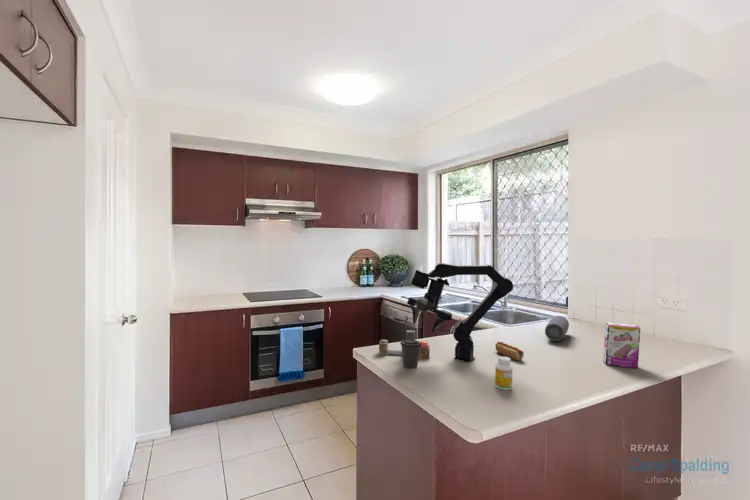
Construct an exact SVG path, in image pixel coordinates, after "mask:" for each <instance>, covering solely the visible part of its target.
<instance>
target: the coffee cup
mask: <svg viewBox="0 0 750 500" xmlns="http://www.w3.org/2000/svg"><path fill="white" fill-rule="evenodd" d="M399 344H400V345H401V350H402V355H401V356H402V367H403V368H405V369H407V370H415V369H417V368H418V364H419V358H418V357H419V350H420V346H421V341H419V340H416V339H415V340H412V339H408V340H406V339H403V340H401V341H400V343H399Z"/></svg>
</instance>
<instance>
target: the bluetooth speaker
mask: <svg viewBox="0 0 750 500" xmlns="http://www.w3.org/2000/svg"><path fill="white" fill-rule="evenodd" d="M569 323H570V322H569V321H568V319H567V318H566V317H565V316H562V315H556V316H554V317H552V318H551V319H550V320H549V321H548V322H547V324H546V326H545V328H544V334H545V336H546V338H548V339H549V340H551V341H553V342H557V341H558V342H559V341H561V340H562V339H564V337H565V336H566V334H567V333H568V330H569V327H570V324H569Z"/></svg>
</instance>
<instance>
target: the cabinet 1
mask: <svg viewBox="0 0 750 500" xmlns="http://www.w3.org/2000/svg"><path fill="white" fill-rule="evenodd" d="M388 345H389V341H388V339H380V340H379V344H378V347H379V348H378V355H379V356H384V357H385V356H387V355H388V354H387V349H388V348H389V346H388ZM388 350H389V349H388Z"/></svg>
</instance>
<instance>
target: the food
mask: <svg viewBox="0 0 750 500" xmlns="http://www.w3.org/2000/svg"><path fill="white" fill-rule="evenodd" d="M494 346H495V351H496V352H497V353H498V354H500V355H502V356H504V357H509V358H510V359H511V360H514V361H521V360H522V359H523V358H524V356H525V353H524V351H523V350H521V349H519V348H518V347H515V346H513V345H510V344H509V343H505V342H504V341H497V342H496V343H495V345H494Z"/></svg>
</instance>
